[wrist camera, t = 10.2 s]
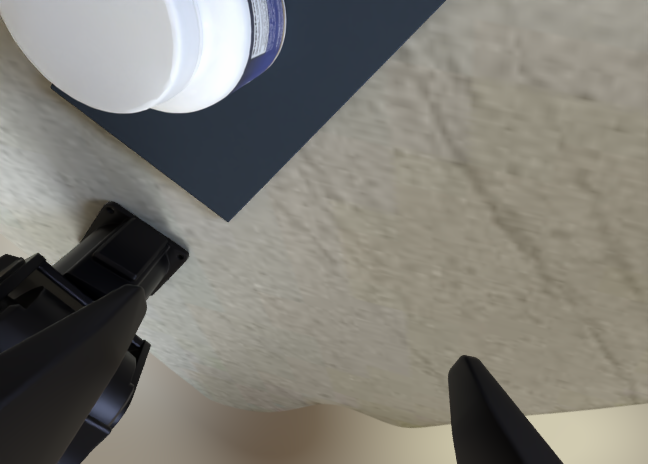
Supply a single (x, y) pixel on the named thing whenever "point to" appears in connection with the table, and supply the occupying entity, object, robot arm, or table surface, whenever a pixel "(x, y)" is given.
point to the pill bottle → (148, 48)
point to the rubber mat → (270, 101)
